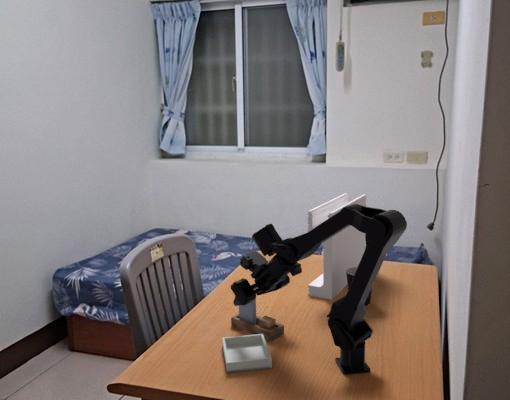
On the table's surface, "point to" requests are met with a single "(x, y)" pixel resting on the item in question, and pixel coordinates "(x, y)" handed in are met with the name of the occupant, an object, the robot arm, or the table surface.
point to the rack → (257, 328)
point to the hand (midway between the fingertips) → (245, 299)
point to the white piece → (336, 248)
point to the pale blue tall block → (248, 312)
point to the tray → (246, 353)
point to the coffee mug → (350, 275)
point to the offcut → (267, 322)
